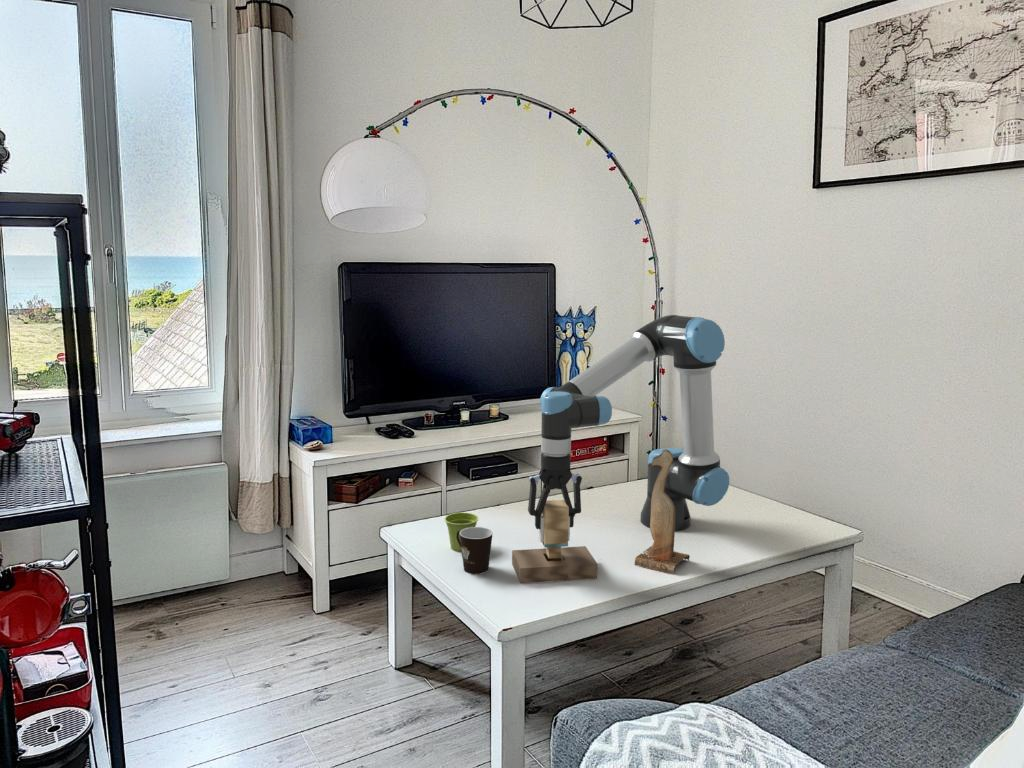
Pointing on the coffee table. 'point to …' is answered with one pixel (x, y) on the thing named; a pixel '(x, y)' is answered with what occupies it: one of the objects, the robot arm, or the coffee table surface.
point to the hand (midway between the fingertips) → (553, 539)
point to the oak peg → (555, 527)
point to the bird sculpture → (661, 523)
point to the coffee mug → (475, 549)
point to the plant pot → (459, 526)
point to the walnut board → (554, 565)
